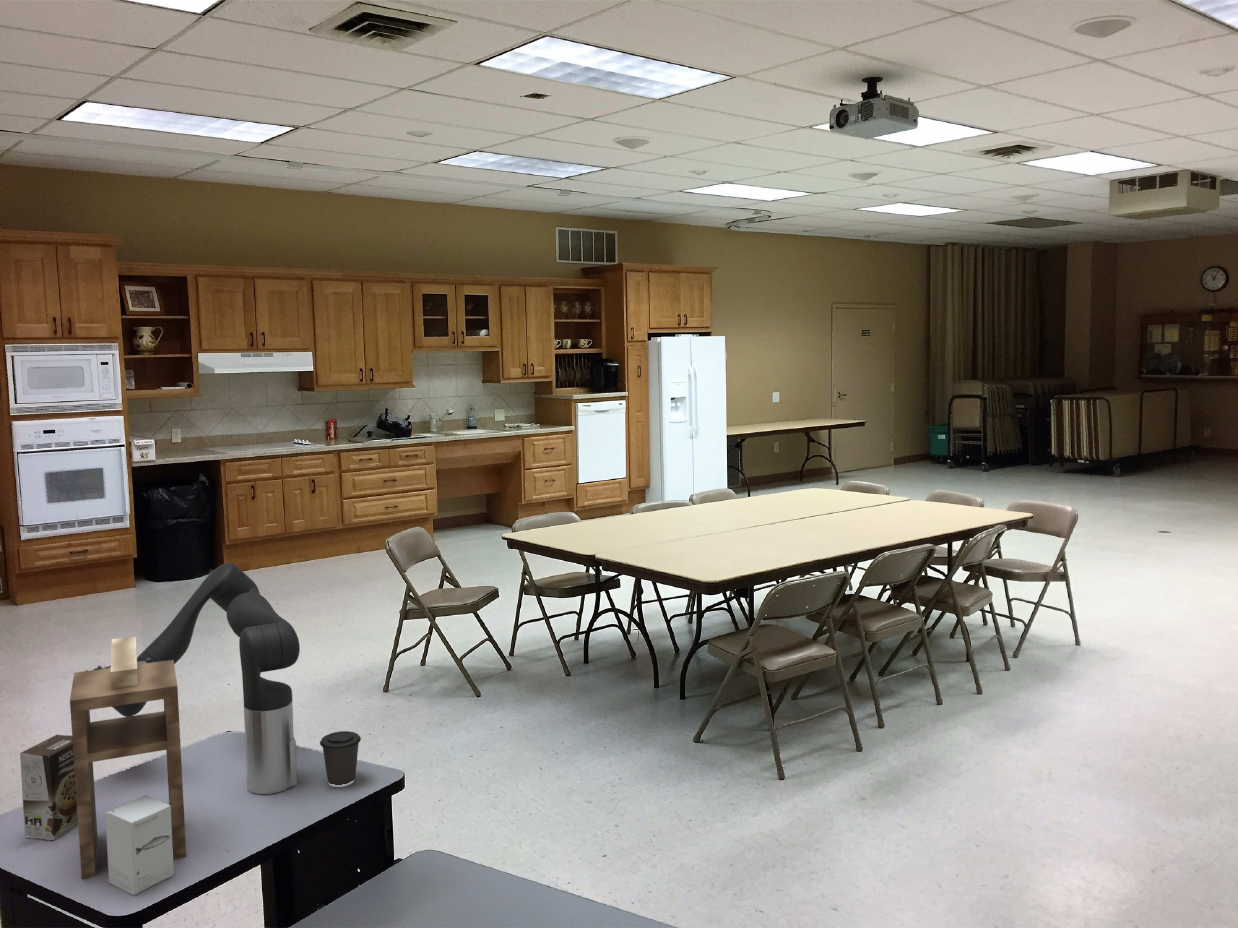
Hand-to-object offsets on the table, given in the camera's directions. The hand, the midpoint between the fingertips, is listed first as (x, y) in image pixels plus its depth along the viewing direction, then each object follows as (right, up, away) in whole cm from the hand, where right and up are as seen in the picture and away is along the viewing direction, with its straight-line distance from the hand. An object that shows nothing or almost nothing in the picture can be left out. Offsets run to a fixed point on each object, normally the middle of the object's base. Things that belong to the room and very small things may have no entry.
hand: (124, 667), depth 188 cm
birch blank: (+8, +3, -15) cm, 17 cm away
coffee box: (-7, -28, -9) cm, 30 cm away
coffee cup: (+39, -26, +10) cm, 48 cm away
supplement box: (+16, -30, -26) cm, 43 cm away
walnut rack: (+10, -29, -16) cm, 34 cm away
